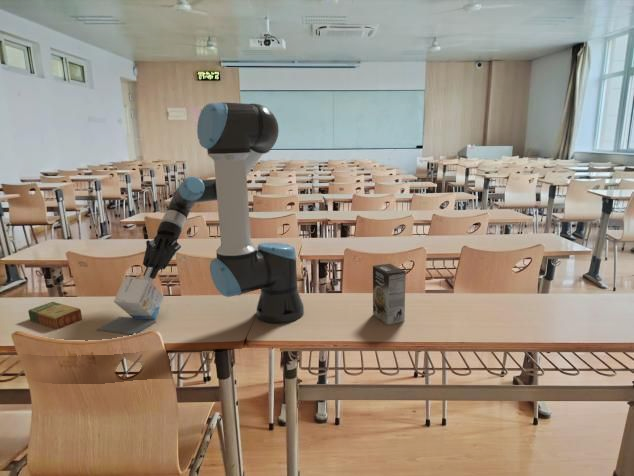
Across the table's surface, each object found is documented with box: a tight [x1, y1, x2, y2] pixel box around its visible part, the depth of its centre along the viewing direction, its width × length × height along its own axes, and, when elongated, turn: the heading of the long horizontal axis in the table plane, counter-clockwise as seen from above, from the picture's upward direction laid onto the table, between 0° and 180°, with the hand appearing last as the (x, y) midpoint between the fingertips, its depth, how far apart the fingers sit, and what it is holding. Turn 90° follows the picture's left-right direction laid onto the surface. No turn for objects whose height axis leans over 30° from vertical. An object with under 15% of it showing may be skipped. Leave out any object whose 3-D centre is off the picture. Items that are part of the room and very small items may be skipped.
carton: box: [28, 301, 83, 330], centre depth 138 cm, size 8×16×4 cm, turn 60°
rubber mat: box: [96, 316, 156, 335], centre depth 131 cm, size 14×9×1 cm
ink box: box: [113, 275, 165, 320], centre depth 133 cm, size 9×8×13 cm
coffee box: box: [372, 263, 407, 326], centre depth 129 cm, size 9×6×16 cm
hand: (144, 286), depth 137 cm, fingers closed
